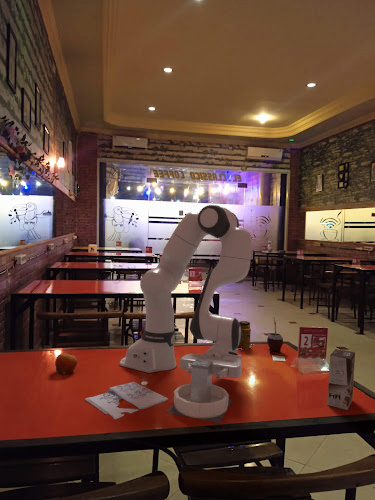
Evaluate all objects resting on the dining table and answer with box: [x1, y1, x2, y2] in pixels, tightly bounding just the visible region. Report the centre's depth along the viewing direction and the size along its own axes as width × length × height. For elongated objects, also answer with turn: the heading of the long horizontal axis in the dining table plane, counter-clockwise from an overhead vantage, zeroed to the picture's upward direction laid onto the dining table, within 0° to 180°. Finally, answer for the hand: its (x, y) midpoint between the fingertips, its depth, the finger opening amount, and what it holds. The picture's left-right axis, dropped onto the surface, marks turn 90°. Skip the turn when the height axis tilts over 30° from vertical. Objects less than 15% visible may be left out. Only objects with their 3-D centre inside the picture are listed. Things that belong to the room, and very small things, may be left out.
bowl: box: [173, 382, 230, 420], centre depth 118 cm, size 16×16×4 cm
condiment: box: [237, 320, 252, 351], centre depth 183 cm, size 7×8×12 cm
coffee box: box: [326, 348, 356, 411], centre depth 125 cm, size 9×6×16 cm
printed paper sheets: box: [84, 381, 169, 420], centre depth 121 cm, size 19×20×2 cm
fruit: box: [54, 352, 79, 375], centre depth 143 cm, size 8×8×8 cm
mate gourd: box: [266, 316, 284, 355], centre depth 178 cm, size 8×8×15 cm
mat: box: [166, 399, 233, 424], centre depth 118 cm, size 16×16×1 cm
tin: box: [190, 359, 213, 403], centre depth 117 cm, size 5×5×12 cm
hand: (203, 373), depth 120 cm, fingers open, 8 cm apart
